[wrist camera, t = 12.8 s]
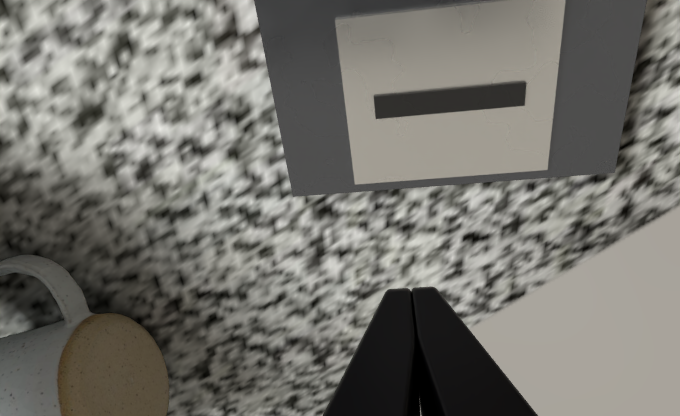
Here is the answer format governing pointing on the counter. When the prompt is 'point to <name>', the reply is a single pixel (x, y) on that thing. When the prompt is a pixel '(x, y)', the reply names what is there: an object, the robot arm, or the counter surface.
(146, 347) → the ceramic mug
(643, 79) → the counter surface
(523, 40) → the panel
